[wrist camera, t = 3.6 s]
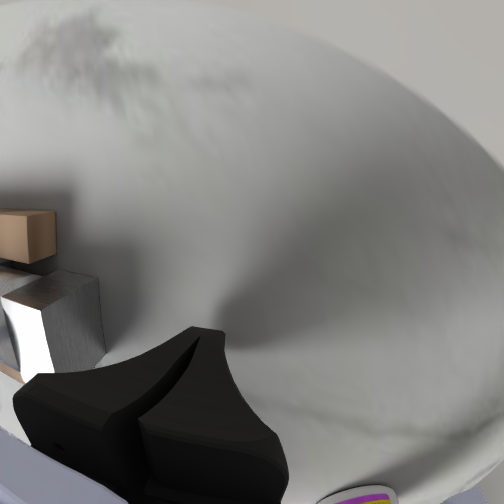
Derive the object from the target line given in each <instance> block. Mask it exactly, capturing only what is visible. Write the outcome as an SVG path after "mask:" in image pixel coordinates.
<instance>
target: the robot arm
mask: <svg viewBox="0 0 504 504" xmlns="http://www.w3.org/2000/svg"><path fill="white" fill-rule="evenodd" d="M224 347H225V333H224V332H223V331H220V330H213V329H206V328H199V327H193V326H191V327H189V328H187V329H186V330H184V331H183V332H181V333H179V334H178V335H176V336H175V337H173V338H171V339H170V340H168V341H166V342H165V343H163V344H161V345H159V346H157V347H155V348H153V349H151V350H149V351H147V352H145V353H143V354H141V355H139V356H137V357H134V358H131V359H129V360H126V361H123V362H120V363H117V364H113V365H109V366H105V367H101V368H97V369H92V370H85V371H77V372H66V373H37V374H36V375H35V376H34V377H33V378H31V379H30V380H29V381H28V382H27V383H26V384H25V385H24V386H23V387H22V388H20V389H19V390H18V391H17V392H16V393H15V394H14V396H13V407H14V411H15V413H16V416H17V418H18V420H19V422H20V424H21V426H22V428H23V430H24V432H25V434H26V435H27V437H28V439H29V441H30V443H31V444H32V445H31V446H29V445H28V444H26V443H24V442H23V441H21V440H20V439H18V438H17V437H15V436H14V435H12V434H11V433H9V432H8V431H7V430H5V429H4V428H2V427H1V426H0V504H281V500H282V497H283V495H284V493H285V490H286V488H287V485H288V481H289V472H288V466H287V461H286V458H285V454H284V451H283V448H282V446H281V443H280V440H279V438H278V435H277V434H276V433H275V432H273V431H272V430H271V429H270V428H269V427H268V426H267V425H265V424H264V423H263V422H262V421H261V420H260V418H259V417H258V416H257V415H256V414H255V413H254V412H253V410H252V409H251V408H250V406H249V405H248V404H247V402H246V401H245V399H244V398H243V397H242V395H241V393H240V391H239V390H238V388H237V386H236V384H235V382H234V380H233V378H232V375H231V373H230V370H229V367H228V364H227V361H226V356H225V352H224ZM441 504H488V503H487V501H486V499H485V497H484V495H483V493H482V491H481V489H480V487H474V488H472V489H469V490H467V491H464V492H462V493H459V494H457V495H454V496H452V497H450V498H448V499H446V500H445V501H443V502H442V503H441Z"/></svg>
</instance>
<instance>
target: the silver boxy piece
mask: <svg viewBox="0 0 504 504" xmlns="http://www.w3.org/2000/svg"><path fill="white" fill-rule="evenodd" d="M105 355H106V350H105V343H104V336H103V329H102V320H101V311H100V301H99V289H98V277H93V276H87V275H82V274H77V273H72V272H66V271H61V270H56V271H54V272H52V273H50V274H47V275H45V276H40V275H36V274H31V273H27V272H23V271H19V270H15V269H12V263H11V260H9V259H5V258H1V257H0V362H2V363H4V364H6V365H7V366H9V367H11V368H13V369H14V370H16V371H18V372H20V373H21V376H22V379H23V381H24V382H26V383H27V382H28V381H29V380H30V379H31V378H33V377H34V376H35V375H36V374H37V373H66V372H77V371H85V370H92V369H93V368H94V367H95V366H96V364H97V363H98V362H99V361H100V360H101V359H102V358H103V357H104V356H105Z"/></svg>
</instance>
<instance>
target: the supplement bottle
mask: <svg viewBox="0 0 504 504" xmlns="http://www.w3.org/2000/svg"><path fill="white" fill-rule="evenodd" d="M317 504H399V502H398V499H397V496H396V493H395V492H394V490H393V489H391V488H389V487H386V486H381V485H371V486H362V487H357V488H353V489H349V490H345V491H342V492H339V493H337V494H334V495H331V496H329V497H327V498H325V499H323V500H322V501H320V502H319V503H317Z"/></svg>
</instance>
